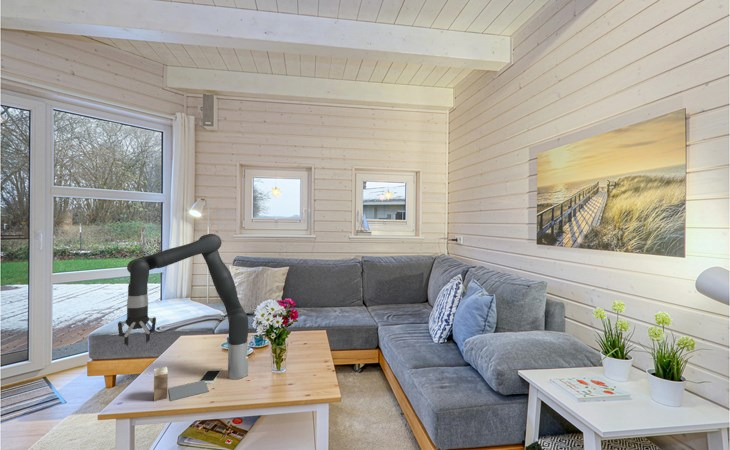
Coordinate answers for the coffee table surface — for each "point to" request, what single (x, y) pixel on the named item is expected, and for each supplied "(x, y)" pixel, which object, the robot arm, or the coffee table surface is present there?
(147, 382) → the coffee table surface
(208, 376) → the smartphone
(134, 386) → the coffee table surface
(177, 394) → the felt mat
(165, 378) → the brown wooden block
